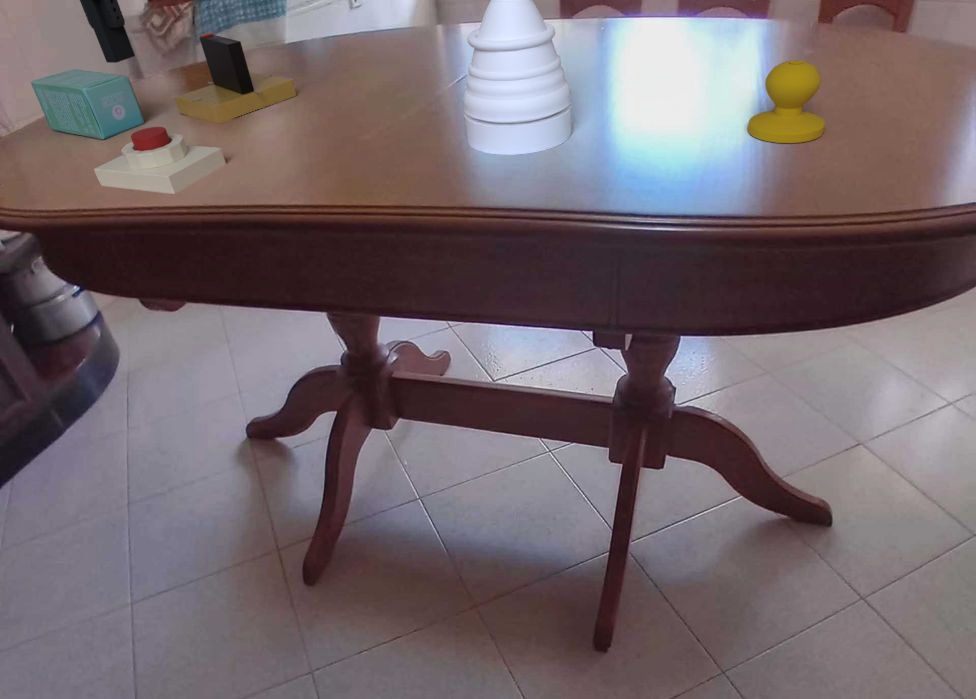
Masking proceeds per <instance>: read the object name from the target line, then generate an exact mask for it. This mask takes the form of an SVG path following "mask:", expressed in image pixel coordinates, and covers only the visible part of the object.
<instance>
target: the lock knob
mask: <svg viewBox="0 0 976 699" xmlns="http://www.w3.org/2000/svg"><path fill="white" fill-rule="evenodd" d="M199 41H200V44H201V48H202V52H203V54H204V58H205V60H206V63H207V66H208V70H209V73H210V77H211V79H212V83H214V84H213V85H217V86H219V87H222V88H225V89H228V90H231V91H234V92H237V93H239V94H242V95H243V94H246V93H250V92H253V91H254V88H253V84H252V81H251V77H250V74H249V73H250V70H249V67H248V63H247V60H246V56H245V53H244V49H243V45H242V42H241V40H236V39H232V38H228V37H223V36H220V35H216V34H214V32H213V33H212V32H208V33H204V34H199Z"/></svg>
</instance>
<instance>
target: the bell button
mask: <svg viewBox="0 0 976 699" xmlns="http://www.w3.org/2000/svg"><path fill="white" fill-rule="evenodd" d="M167 133H168V131H167V128H165V127H163V126H151V127H145V128H142V129H139V130H137V131H134V132H133V133H132V134H130V139H131V142H133V144H134V147H135V149H136V151H147V150H153V149H157V148H160V147H163V146H165V145H167V144H169V143H171V142H170V139H169V136H168V134H169V133H168V134H167Z"/></svg>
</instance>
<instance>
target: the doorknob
mask: <svg viewBox="0 0 976 699" xmlns="http://www.w3.org/2000/svg"><path fill="white" fill-rule="evenodd" d="M821 84H822V76H821V74H820V71H819V69H818V68H817V67H816V66H815V65H814V64H812V63H810V62H808V61H805V60H801V59H800V60H798V59H795V60H787V61H784V62H781V63H779V64H777V65H775V66H774V67H773V68H771V70H770V72H769V73H768V74H767V76H766V78H765V82H764V85H765V90H766V93H767V95H768V97H769V99H770V100H771V101H772V103H773V104H774V109H771V110H767V111H763V112H759V113H756V114H754V115H753V116H751V117H750V118H749V120H748V123H747V124H748V125H747V132H748V134H749V135H751V136H752V137H753V138H755V139H758V140H761V141H764V142H768V143H774V144H775V143H777V144H800V143H806V142H810V141H814V140H816V139H819V138H821V136H823V135H824V132H825V128H826V121H825V119H824V118H823V117H821V116H819V115H817V114H815V113H812V112H810V111H806V110H804V106H805V105H806V104H807V103H808V102H810V100H811V99H812V98H813V97H814V96H815V95H816V93H817V92H818V91H819V89H820V87H821Z"/></svg>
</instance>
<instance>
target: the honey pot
mask: <svg viewBox="0 0 976 699" xmlns="http://www.w3.org/2000/svg"><path fill="white" fill-rule="evenodd" d="M479 25H480V26H479V28H477V29H474V30H473V31H472V32H470V33H469V34H468V35H467V40H466V41H467V43H468V45H469V46H470V47H471V48H474V49H473V53H472V58H471V61H470V63H469V64H468V69H467V71H468V75H467V78H466V84H465V85H466V88H465V89H464V92H463V96H462V104H463V111H464V115H463V117H464V118H463V119H464V125H465V126H464V127H465V135H466V142H467V145H469V147H471V148H472V149H473V150H476V151H478V152H481V153H485V154H491V155H497V156H516V155H517V156H519V155H528V154H529V155H530V154H534V153H539V152H544V151H547V150H549V149H553V148H556V147H558V146H560V145H562V144H565V142H567V141H568V140H569V139H570V138H571V135H572V132H573V131H572V129H573V128H572V104H571V102H572V100H571V94H572V92H571V88H570V83H569V82H568V80H567V79H566V78H565V77H566V75H565V71H564V68H563V67H562V60H561V56H560V55H558V53H557V49H556V48H555V45H554V42H553V38H555V35H556V29H555V27H554V26H552V25H551V24H549V23H546V22H545V21H544V18H543V16H542V14H541V12H540V10H539V9H538V7H537V5H536V4H535V2H534V0H490V1H489V3H488V5H487V7H486V9H485V11H484V13H483V16H482V20H481V23H480V24H479Z"/></svg>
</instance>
